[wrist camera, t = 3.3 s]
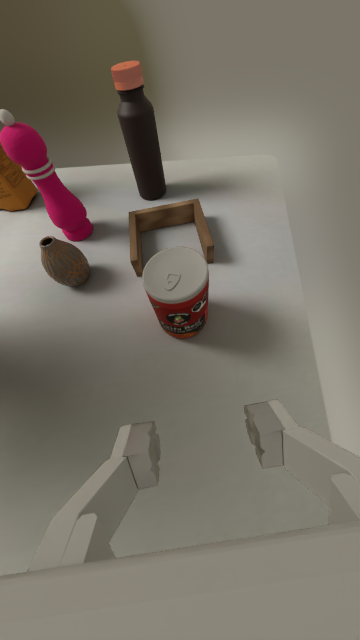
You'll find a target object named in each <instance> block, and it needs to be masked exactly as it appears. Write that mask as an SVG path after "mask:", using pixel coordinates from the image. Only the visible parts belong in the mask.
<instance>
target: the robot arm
mask: <svg viewBox="0 0 360 640" xmlns="http://www.w3.org/2000/svg"><path fill="white" fill-rule="evenodd" d="M244 413H245V415H246V417H247V419H246V420H245V422H246V428H247V432H248V435H249V438H250V441H251V443H252V444H253V445H254V446H255V450H256V455H257V457H258V459H259V462H260V464H261V466H262V468H263V469H264V468H272V467H280V466H284V468H285V469H287V470H288V471H289V472H290V473H291V474H292V475H294V476H295V477H296V478H297V479H298V480H299V481H300V482H302V483H303V484H304V485H305V486H306V487H307V488H308V489H310V490H311V491H312V492H313V493H314V494H315V495H316V496H318V497H319V498H320V499H321V500H322V501H323V502H324V503H326V504H327V505H328V506H329V507H330V511H329V525H327V526H320V527H314V528H307V529H301V530H294V531H288V532H281V533H275V534H268V535H262V536H255V537H249V538H242V539H236V540H229V541H223V542H216V543H210V544H204V545H197V546H191V547H184V548H178V549H172V550H165V551H159V552H152V553H146V554H139V555H133V556H126V557H120V558H115V556H114V554H113V551H112V549H111V547H110V545H109V541H110V540H111V538H112V536H113V534H114V533H115V531H116V529H117V527H118V525H119V524H120V522H121V520H122V518H123V517H124V515H125V513H126V511H127V510H128V508H129V506H130V504H131V503H132V501H133V499H134V497H135V496H136V494H137V492H138V490H139V489H144V488H149V487H154V486H158V481H159V465H158V461H159V460H160V453H161V450H160V440H159V436H158V435H157V434H156V425H155V422H154V421H150V422H143V423H136V424H131V425H124V426H122V427H121V428H120V430H119V433H118V436H117V439H116V442H115V445H114V448H113V451H112V454H111V457H110V459H108V460H106V461H105V462H104V463H103V464H102V465H101V466H100V467H99V468H98V469H97V470H96V472H95V473H94V474H93V475H92V476H91V477H90V478H89V479H88V480H87V481H86V482H85V483H84V485H83V486H82V487H81V488H80V489H79V490H78V491H77V492H76V493H75V494H74V495H73V496H72V497H71V499H70V500H69V501H68V502H67V503H66V504H65V505H64V506H63V507H62V508H61V509H60V510H59V512H58V513H57V514H56V515H55V516H54V517H53V518H52V520H51V522H50V524H49V526H48V528H47V530H46V532H45V534H44V537H43V539H42V541H41V543H40V545H39V547H38V549H37V551H36V553H35V555H34V557H33V559H32V561H31V564H30V566H29V568H28V570H27V572H23V573H16V574H9V575H3V576H0V640H360V457H359V456H357V455H355V454H353V453H351V452H349V451H347V450H346V449H344V448H342V447H340V446H338V445H336V444H334V443H333V442H331V441H329V440H327V439H325V438H323V437H321V436H319V435H318V434H316V433H314V432H312V431H310V430H308V429H306V428H304V427H299V426H298V425H297V423H296V422H295V421H294V419H293V418H292V417H291V415H290V414H289V413H288V412H287V410H286V409H285V408H284V406H283V405H282V404H281V403H280V401H279V400H277V399H276V400H270V401H266V402H260V403H255V404H249V405H244Z"/></svg>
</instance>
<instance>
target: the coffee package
mask: <svg viewBox="0 0 360 640" xmlns="http://www.w3.org/2000/svg"><path fill="white" fill-rule="evenodd" d="M37 190H38V189H37V188H36V187H35V185H34V184H33V183H32V181H31V180H30V179H28V178H27V176H26V174H25V173H24V172H23V171H22V167H21V165H19V164H17V163H15V162H14V161H12V160H11V159H10V158H9V156H8V155H7V154H6V152H5V151H4V149H3V147H2V145H1V141H0V209H5V210H8V211H16V210H21V209H26V208H27V207H28V206H29V203H30V202H31V199H32V198H33V197H34V196H35V195H36V194H37Z"/></svg>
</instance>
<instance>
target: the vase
mask: <svg viewBox="0 0 360 640" xmlns="http://www.w3.org/2000/svg"><path fill="white" fill-rule="evenodd" d="M40 247H41V261H42V264H43V267H44V269H45V270H46V272H47V273H48V275H49V276H50V277H51V278H53V279H54V280H55V281H57V282H58V283H60V284H62V285H65V286H77V285H80V284H82V283H84V282H85V281H86V279H87V278H88V276H89V272H90V268H89V263H88V261H87V259H86V257H85V256H84V254H83V253H82V252H81V251H80V250H79V249H78V248H77V247H75V246H74V245H72V244H70V243H67V242H64V241H61V240H58V239H56V238H54V237H52V236H48V237H45V238H43V239H42V240H41V241H40Z"/></svg>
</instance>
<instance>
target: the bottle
mask: <svg viewBox="0 0 360 640" xmlns="http://www.w3.org/2000/svg"><path fill="white" fill-rule="evenodd" d="M111 72H112V76H113V79H114V83H115V86H116V89H117V93H118V94H119V95H120V99H121V101H120V104H119V108H118V111H117V113H118V118H119V121H120V125H121V129H122V132H123V135H124V139H125V143H126V147H127V150H128V154H129V157H130V161H131V165H132V168H133V172H134V175H135V179H136V182H137V186H138V190H139V193H140V196H141V197H142V198H144V199H146V200H155V199H158V198H160V197H162V196H163V195H164V194H165V192H166V185H165V179H164V172H163V166H162V160H161V153H160V147H159V141H158V135H157V128H156V122H155V116H154V110H153V106H152V104H151V102H150V101H149V100H148V99H147V98H146V97H145V96H144V93H143V88H144V85H143V83H144V82H143V76H142V71H141V65H140V62H138V61H128V62H123V63H119V64H117V65H115V66H113V67H112V68H111Z"/></svg>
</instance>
